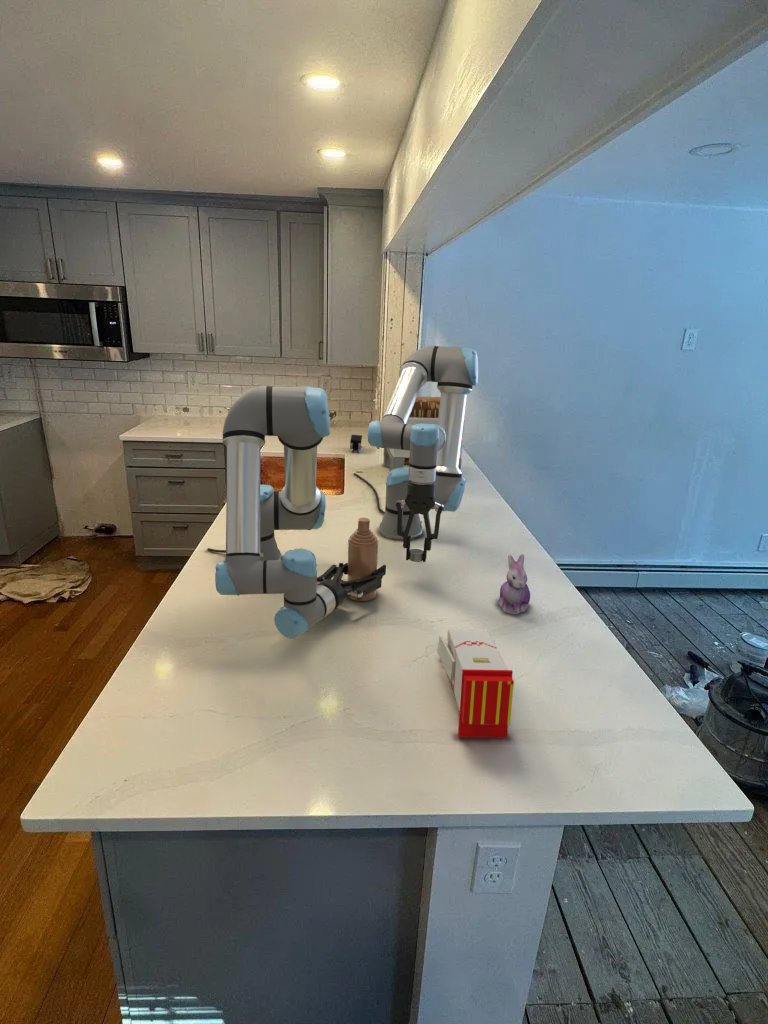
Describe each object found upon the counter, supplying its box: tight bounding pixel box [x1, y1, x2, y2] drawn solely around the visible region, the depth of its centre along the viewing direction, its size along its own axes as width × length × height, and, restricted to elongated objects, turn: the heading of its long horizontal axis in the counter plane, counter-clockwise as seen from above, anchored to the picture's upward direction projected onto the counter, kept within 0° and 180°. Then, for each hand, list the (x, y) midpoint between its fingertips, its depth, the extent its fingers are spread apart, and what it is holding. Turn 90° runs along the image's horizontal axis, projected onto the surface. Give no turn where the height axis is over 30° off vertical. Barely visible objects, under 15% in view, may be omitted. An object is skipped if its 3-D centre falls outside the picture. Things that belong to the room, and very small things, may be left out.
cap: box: [408, 548, 424, 563], centre depth 163 cm, size 4×4×2 cm
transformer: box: [383, 395, 465, 472], centre depth 268 cm, size 34×33×41 cm
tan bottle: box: [346, 517, 379, 602], centre depth 153 cm, size 8×8×22 cm
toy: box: [437, 628, 515, 738], centre depth 117 cm, size 12×13×30 cm
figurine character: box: [349, 434, 363, 453], centre depth 311 cm, size 7×8×15 cm
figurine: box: [498, 553, 531, 615], centre depth 151 cm, size 9×10×15 cm
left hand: (371, 565), depth 159 cm, fingers closed on tan bottle, 8 cm apart
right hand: (416, 559), depth 163 cm, fingers closed on cap, 4 cm apart
